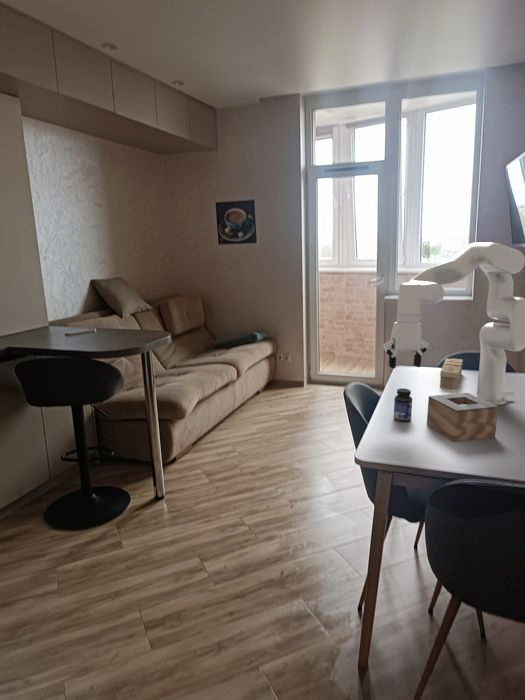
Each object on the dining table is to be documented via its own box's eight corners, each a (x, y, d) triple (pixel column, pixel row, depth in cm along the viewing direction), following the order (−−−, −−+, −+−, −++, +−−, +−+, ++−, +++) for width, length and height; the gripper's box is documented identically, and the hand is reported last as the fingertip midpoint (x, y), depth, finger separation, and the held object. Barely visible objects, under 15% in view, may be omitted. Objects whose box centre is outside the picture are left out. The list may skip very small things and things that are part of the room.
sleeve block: (464, 420, 173) (467, 392, 171) (495, 437, 159) (498, 406, 157) (426, 425, 170) (428, 396, 167) (454, 442, 155) (456, 410, 153)
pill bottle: (411, 423, 172) (413, 393, 169) (393, 421, 173) (395, 392, 171) (410, 417, 178) (412, 388, 175) (392, 415, 179) (394, 387, 176)
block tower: (444, 374, 239) (438, 388, 213) (445, 357, 238) (439, 369, 212) (461, 376, 236) (457, 390, 210) (463, 359, 234) (459, 371, 208)
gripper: (424, 316, 173) (420, 363, 177) (380, 318, 169) (377, 365, 172) (436, 319, 166) (432, 368, 170) (390, 321, 162) (387, 370, 165)
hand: (404, 366), depth 171 cm, fingers open, 9 cm apart
